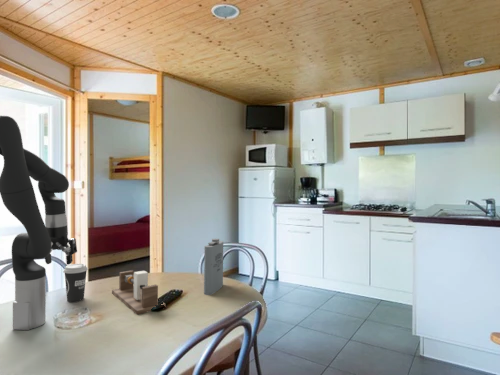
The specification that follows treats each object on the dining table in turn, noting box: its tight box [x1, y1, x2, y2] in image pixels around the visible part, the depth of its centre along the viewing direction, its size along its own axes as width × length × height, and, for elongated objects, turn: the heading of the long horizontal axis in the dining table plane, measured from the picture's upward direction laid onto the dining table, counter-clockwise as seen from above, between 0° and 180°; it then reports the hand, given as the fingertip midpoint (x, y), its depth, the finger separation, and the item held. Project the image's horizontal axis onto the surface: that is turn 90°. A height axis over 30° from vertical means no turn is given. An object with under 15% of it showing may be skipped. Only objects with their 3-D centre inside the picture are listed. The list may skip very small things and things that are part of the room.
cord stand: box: [111, 269, 166, 315], centre depth 144 cm, size 32×12×10 cm, turn 39°
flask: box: [203, 238, 224, 296], centre depth 160 cm, size 17×5×25 cm, turn 164°
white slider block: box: [133, 270, 149, 300], centre depth 141 cm, size 4×5×11 cm
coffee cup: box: [63, 263, 89, 303], centre depth 144 cm, size 10×10×15 cm
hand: (59, 263), depth 133 cm, fingers open, 8 cm apart
